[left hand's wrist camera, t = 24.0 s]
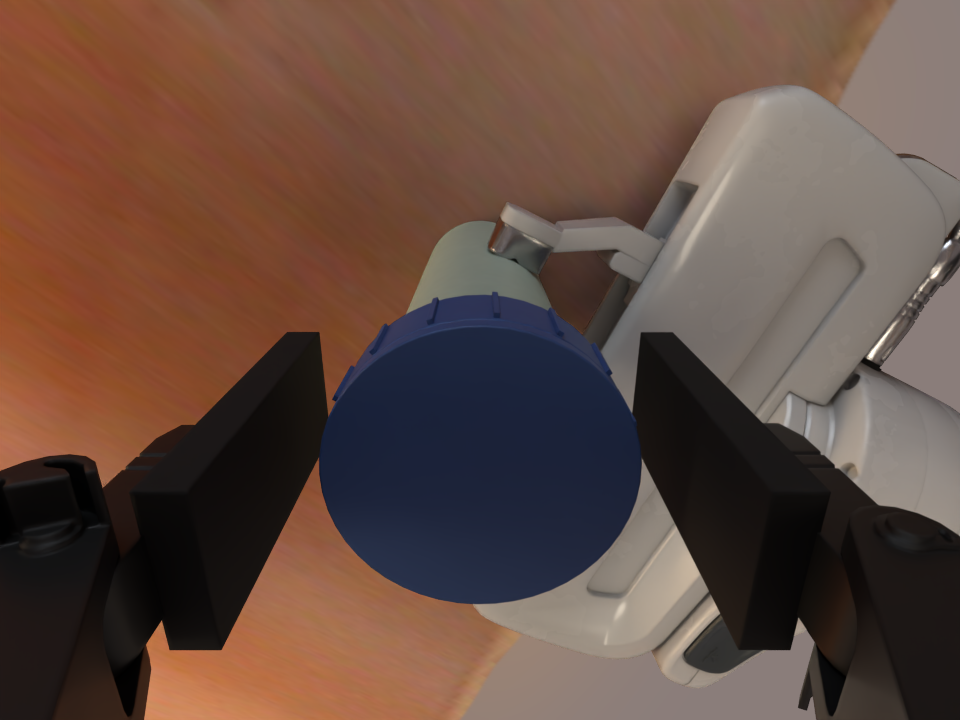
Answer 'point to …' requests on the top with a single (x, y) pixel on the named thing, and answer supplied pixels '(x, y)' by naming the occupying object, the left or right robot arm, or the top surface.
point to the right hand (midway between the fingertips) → (455, 308)
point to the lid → (480, 452)
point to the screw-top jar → (475, 270)
